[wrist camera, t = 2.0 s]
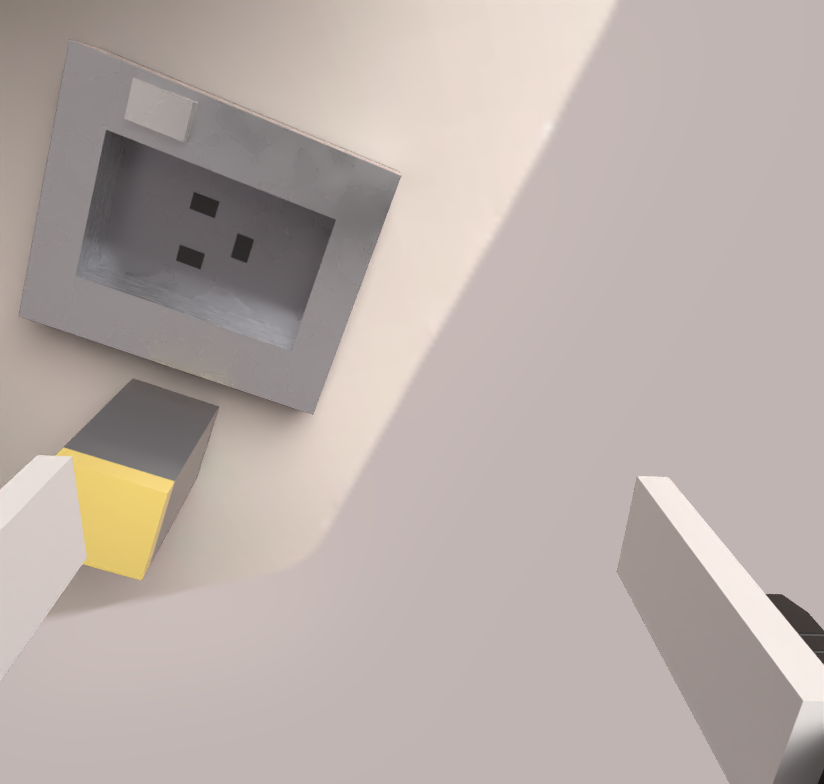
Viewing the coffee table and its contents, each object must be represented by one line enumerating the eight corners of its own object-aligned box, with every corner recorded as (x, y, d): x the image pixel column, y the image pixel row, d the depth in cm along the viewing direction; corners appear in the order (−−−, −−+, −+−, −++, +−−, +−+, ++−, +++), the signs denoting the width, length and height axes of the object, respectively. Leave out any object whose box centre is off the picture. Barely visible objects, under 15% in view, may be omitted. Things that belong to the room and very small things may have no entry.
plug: (114, 452, 36) (31, 550, 27) (133, 378, 34) (52, 458, 26) (197, 477, 36) (141, 580, 28) (219, 406, 35) (167, 493, 27)
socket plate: (49, 300, 32) (11, 319, 29) (100, 48, 28) (62, 37, 25) (318, 392, 35) (311, 419, 31) (399, 171, 31) (401, 176, 27)
